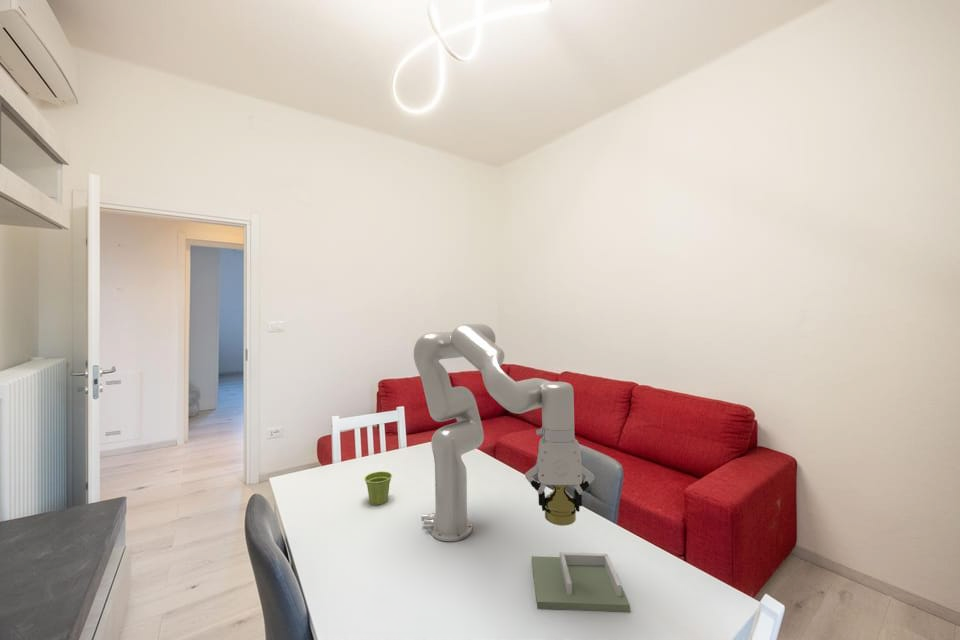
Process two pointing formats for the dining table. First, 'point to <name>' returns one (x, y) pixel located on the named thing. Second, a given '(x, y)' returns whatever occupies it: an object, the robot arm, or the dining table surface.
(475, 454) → the dining table surface
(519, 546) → the dining table surface
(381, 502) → the plant pot
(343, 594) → the dining table surface
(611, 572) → the board with raised rails
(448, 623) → the dining table surface
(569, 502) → the olive rounded stacked piece
